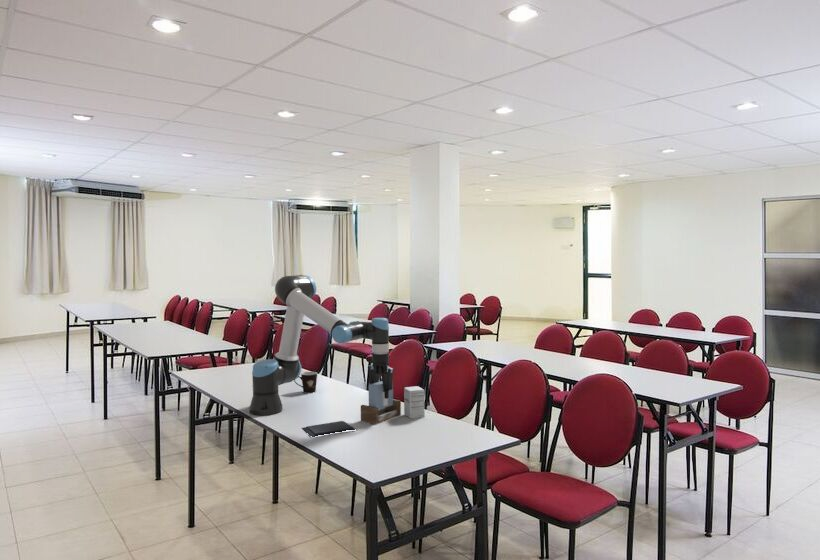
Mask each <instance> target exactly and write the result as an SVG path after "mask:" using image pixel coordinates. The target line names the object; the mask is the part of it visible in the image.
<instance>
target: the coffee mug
mask: <svg viewBox="0 0 820 560" xmlns="http://www.w3.org/2000/svg"><path fill="white" fill-rule="evenodd" d="M300 375H301V376H299V377H298V378H299V379H300V380H301V383H302V384H299V383H297V382H296V379H295V380H293V382H294V383H295V384H296V385H297V386H298V387H301V388H302V391H303V393H304V394H313V392H314V393H316V392H315V391H317V390H316V389H317V381H318V372H316V371H305V372H304V371H303V372H301V373H300Z"/></svg>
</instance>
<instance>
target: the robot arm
mask: <svg viewBox="0 0 820 560" xmlns="http://www.w3.org/2000/svg"><path fill="white" fill-rule="evenodd" d="M274 292H275V296H276V297H277V298H278V299H279V301H280V302H282V303H283V304H285V305H286V310H285V311H286V312H285V315H284V320H283V321H284V323H283V327H282V332H281V338H280V344H279V348H278V349H279V351H278V352H276V353H275V354H274V359H273V358H271V359H270V358H269V359H262V360H259V361H255V363H253V365H252V372H251V374H252V397H251V401H250V405H249V407H248V409H249V410H248V411H249V414H251V415H254V416H270V415H275V414H279V413H281V412H282V411H283V403H282V400H281V398H280V395H279V386H280V385H284V384H288V383H292V382H294V380H295V381H296V380H297V379H298V378H299V377H300V375H301V373H302V364H301V362H300V357H299V355H298V349H299V343H300V337H301V334H302V333H301V332H302V328H303V323H304V322H303V321H304V316H305V317H306V318H308V319H310V320H311V321H313V322H314V323H315V324H317V325H318V326H320V327H321V328H322V329H323V330H325V331H327V332H328V333H329V334H330V335H331V337H332V339H333V341H334V342H335V343H337V344H345V343H349V342H353V341H357V340H361V339H368V340H371V353H372V354H371V361H372V364H371V365H367V369H368V382H369V383H368V385H369V384H373V383H376V382H380V378H381V381H382V383H383V389H384V390H383V391H382V406H386V405H388V398H389V390H392V385H393V386H394V381H393V379H394V378H393V375H394V370H395V369H394V368H393V367H390V365H389V361H390V354H389V351H390V349H389V348H390V345H389V343H390V341H389V337H390V336H389V335H390V334H389V332H390V331H389V329H390V328H389V327H390V325H389V320H388V318H386V317H373V318H372V319H371V322H370V321H360V320H359V321H358V320H356V321H350V322H349V323H347V322H346V321H344V320H342V319H341V318H339V317H338V316H336V315H335V314H334V313H332V312H330V311H329V309H326V308H325V307H323V306H322V305H320V303H318V302H316V301H315V300H313V299H312V298H313V297H314V296H315V295H316V293H317V285H316V283H315V280H314V279H313V278H312V277H311V276H309V275H303V274H298V275H297V274H296V275H295V274H294V275H284V276H282V277H281V278H279V279H278V280H277V282H276V283H275V286H274Z"/></svg>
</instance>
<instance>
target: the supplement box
mask: <svg viewBox="0 0 820 560" xmlns="http://www.w3.org/2000/svg"><path fill="white" fill-rule="evenodd" d="M403 392H404V393H403V397H404V398H403V399H404V400H403V401H404V402H403V404H404V405H403V406H404V407H403V408H404V409H403V410H404V411H403V412H404V414H403V415H404V416H406V417H408V419H409V420H410V419H420V418H424V417H425V389H423V388H422V387H420V386H419V385H418V386H417V385H414V386H406V387H404V388H403Z"/></svg>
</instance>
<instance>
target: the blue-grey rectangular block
mask: <svg viewBox="0 0 820 560" xmlns="http://www.w3.org/2000/svg"><path fill="white" fill-rule="evenodd" d="M383 390H384V389H383V383H382V380H381V381H380V380H379V382H376V383H373V384H369V383H368V406H371V407H376V408H378V410H380V409H383V408H386V407H389V406H392V405H393V399H394V384H393V385H392V390H389V398H388V405H386V406H382V391H383Z"/></svg>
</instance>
